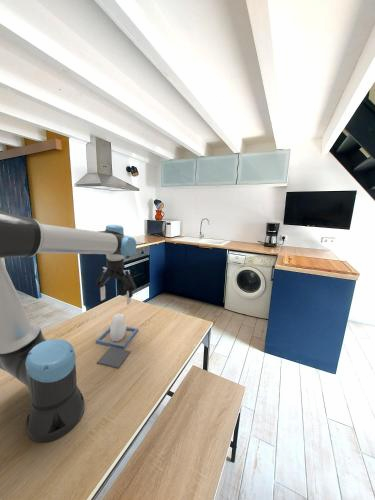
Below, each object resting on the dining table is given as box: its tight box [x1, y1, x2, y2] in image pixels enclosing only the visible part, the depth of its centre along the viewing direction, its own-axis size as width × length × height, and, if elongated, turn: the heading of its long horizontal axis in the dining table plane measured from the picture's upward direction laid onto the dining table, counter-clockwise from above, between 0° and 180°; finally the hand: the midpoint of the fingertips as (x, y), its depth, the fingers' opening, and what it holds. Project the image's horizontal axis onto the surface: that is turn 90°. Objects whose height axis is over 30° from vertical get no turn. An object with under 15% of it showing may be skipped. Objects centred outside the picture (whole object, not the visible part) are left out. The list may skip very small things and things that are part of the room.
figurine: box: [109, 312, 127, 342], centre depth 102 cm, size 7×8×12 cm
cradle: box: [95, 325, 139, 350], centre depth 103 cm, size 14×14×2 cm
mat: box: [96, 346, 131, 369], centre depth 90 cm, size 10×10×1 cm
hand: (115, 301), depth 100 cm, fingers open, 13 cm apart
